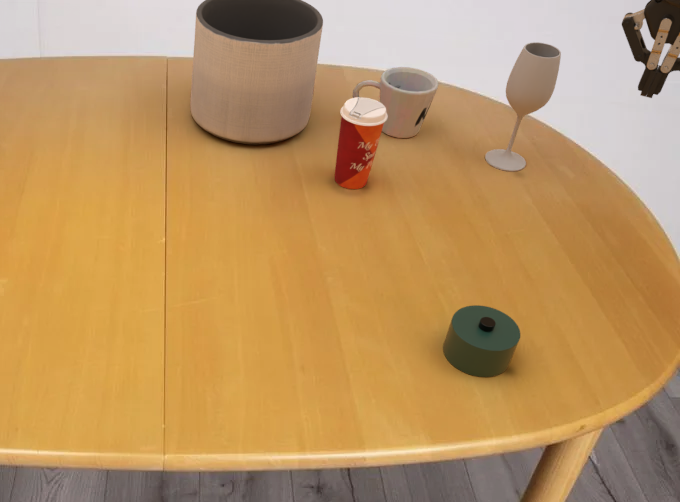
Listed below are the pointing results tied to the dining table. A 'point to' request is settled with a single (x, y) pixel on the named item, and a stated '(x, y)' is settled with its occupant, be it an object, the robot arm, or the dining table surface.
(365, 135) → the paper cup
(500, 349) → the tea tin
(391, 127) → the mug
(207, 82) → the planter
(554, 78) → the wineglass
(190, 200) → the dining table surface
